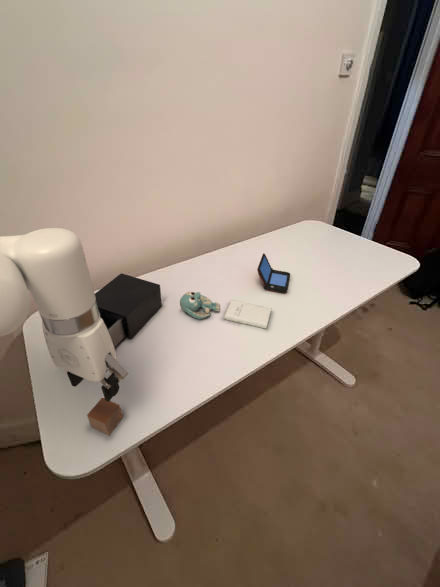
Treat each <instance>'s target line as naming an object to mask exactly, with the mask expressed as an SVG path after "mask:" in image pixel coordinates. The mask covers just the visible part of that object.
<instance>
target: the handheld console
mask: <svg viewBox="0 0 440 587" xmlns="http://www.w3.org/2000/svg"><path fill="white" fill-rule="evenodd" d="M261 255H262V256H261V258H260V261H259V264H258V265H257V273H258V276H259V277H260V279H261V281H262V283H263V286H264V288H263V289H264V291H270V292H275V293H280V294H286V293H288V290H289V284H290V278H291V273H290V272H289V271H283V270H276V269H274V268H273V267H272V266H271V264H270V262H269V259H268V257H267V255H266V253H264V252H263V253H262V254H261Z"/></svg>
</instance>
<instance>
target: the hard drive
mask: <svg viewBox="0 0 440 587" xmlns="http://www.w3.org/2000/svg"><path fill="white" fill-rule="evenodd" d="M271 313H272V308H271V307H267V306H262V305H257V304H252V303H247V302H242V301H238V300H230V303H229V305H228V306H227V310H226V312H225V314H224V320H225V321H227V320H228V321H230V322H235V323H240V324H244V325H248V326H252V327H257V328H260V329H265V330H266V329H267V328H268V324H269V320H270V316H271Z"/></svg>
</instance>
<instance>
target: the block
mask: <svg viewBox="0 0 440 587" xmlns="http://www.w3.org/2000/svg"><path fill="white" fill-rule="evenodd" d="M86 416H87V419H88V422H89V424H90V427H91V428H93V429H95V430H96V431H98V432H101V433H102V434H105V435H106V436H108V437H110V436H111V434H112V433H113V432H114V430H115V429H116V428H117V426H118V425H119V423H120V422H121V421H122V420H123V418H124V415H123V412H122V408H121V405H120V404H118V403H116V402H114V401H112V400H110V401H109V402H107V401H105V398H104V396H102V397H101V398H100V399H99V400H98V401H97V402H96V404H95V405H94V406H93V407H92V408H91V409H90V411H89V412H88V413H87V414H86Z"/></svg>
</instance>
